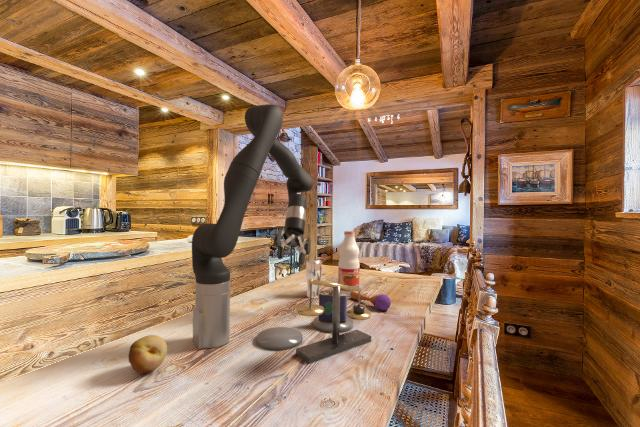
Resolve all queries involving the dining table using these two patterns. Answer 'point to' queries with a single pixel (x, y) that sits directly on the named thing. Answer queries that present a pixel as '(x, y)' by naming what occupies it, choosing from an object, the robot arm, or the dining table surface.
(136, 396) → the dining table surface
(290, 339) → the gray domed disc
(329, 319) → the flask
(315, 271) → the beer glass
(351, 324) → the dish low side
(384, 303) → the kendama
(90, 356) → the dining table surface
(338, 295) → the balance
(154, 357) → the fruit
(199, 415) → the dining table surface
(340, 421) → the dining table surface
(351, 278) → the fruit juice
